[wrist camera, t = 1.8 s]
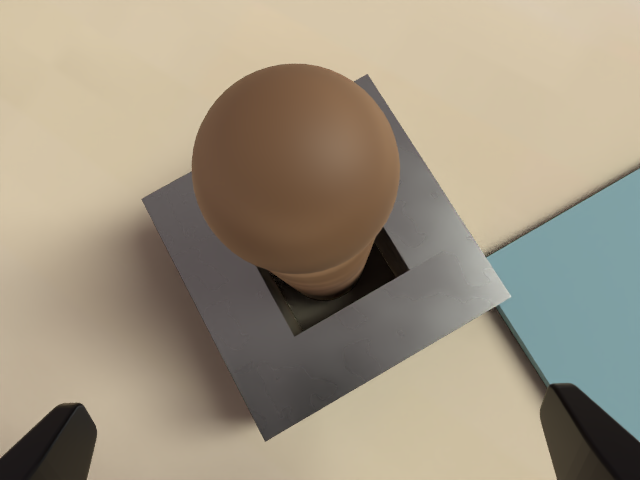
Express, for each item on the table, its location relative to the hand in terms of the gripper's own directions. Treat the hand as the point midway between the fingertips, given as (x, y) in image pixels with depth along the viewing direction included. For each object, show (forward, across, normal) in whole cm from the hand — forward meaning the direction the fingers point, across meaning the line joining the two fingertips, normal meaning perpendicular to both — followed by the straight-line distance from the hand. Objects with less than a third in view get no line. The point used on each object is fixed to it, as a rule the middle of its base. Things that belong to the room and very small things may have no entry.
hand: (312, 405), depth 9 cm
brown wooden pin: (+11, 0, +5) cm, 12 cm away
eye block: (+11, 0, +5) cm, 12 cm away
